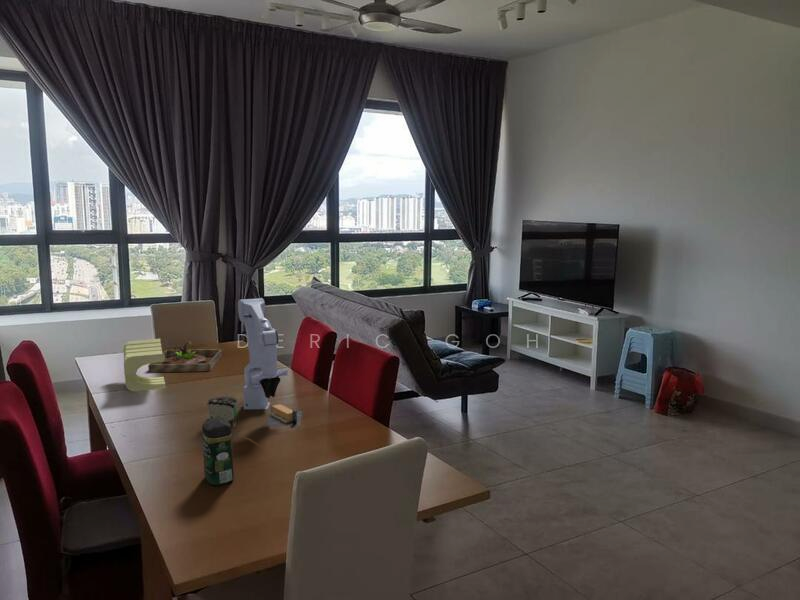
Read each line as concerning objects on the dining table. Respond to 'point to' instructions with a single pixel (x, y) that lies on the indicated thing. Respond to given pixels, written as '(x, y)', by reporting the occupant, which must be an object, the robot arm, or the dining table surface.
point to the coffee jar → (217, 451)
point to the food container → (224, 409)
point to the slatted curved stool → (138, 356)
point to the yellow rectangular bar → (282, 411)
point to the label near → (285, 419)
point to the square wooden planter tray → (187, 367)
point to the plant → (185, 357)
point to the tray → (277, 422)
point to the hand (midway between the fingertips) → (270, 397)
